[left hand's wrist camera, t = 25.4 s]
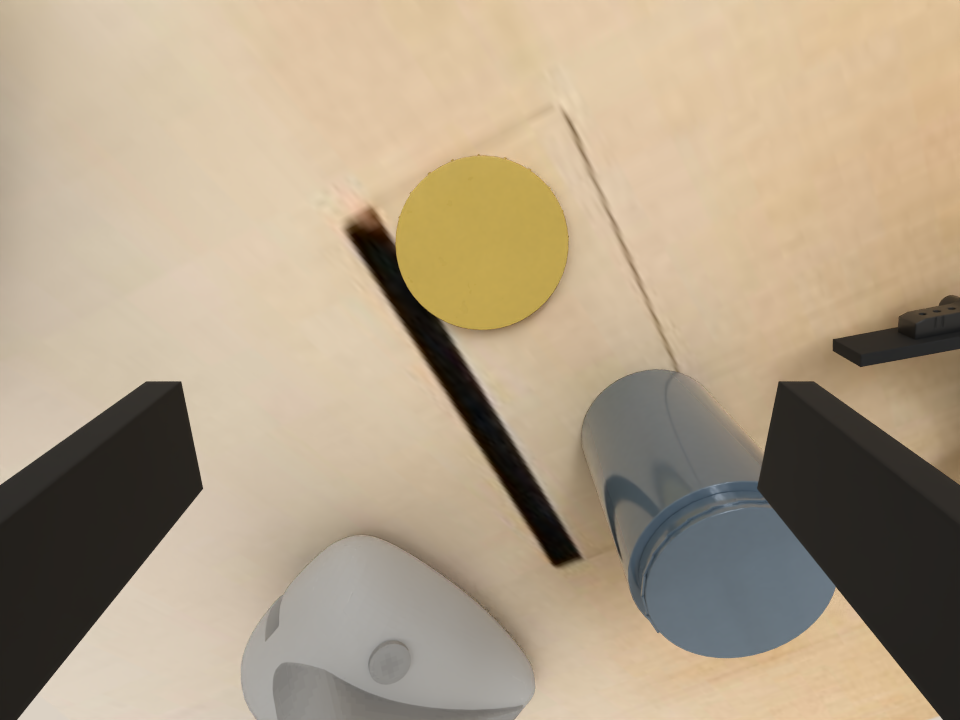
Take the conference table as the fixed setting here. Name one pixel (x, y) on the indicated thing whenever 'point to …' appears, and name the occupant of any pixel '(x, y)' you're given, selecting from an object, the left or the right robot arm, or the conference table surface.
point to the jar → (697, 520)
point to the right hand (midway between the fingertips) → (842, 452)
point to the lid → (482, 242)
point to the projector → (381, 645)
